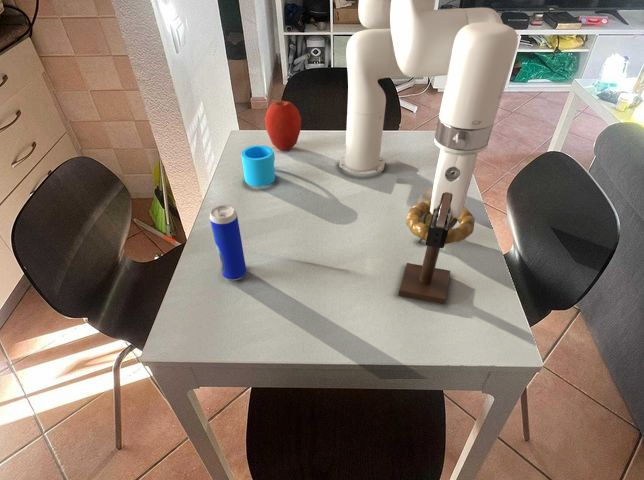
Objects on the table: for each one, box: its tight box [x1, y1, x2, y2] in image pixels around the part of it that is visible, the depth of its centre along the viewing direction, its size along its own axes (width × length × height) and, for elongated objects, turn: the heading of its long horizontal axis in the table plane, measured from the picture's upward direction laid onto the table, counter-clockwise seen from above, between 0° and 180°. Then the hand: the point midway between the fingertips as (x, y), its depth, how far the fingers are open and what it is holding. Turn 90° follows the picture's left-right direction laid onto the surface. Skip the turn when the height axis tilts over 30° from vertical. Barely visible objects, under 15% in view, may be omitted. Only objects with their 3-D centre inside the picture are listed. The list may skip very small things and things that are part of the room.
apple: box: [264, 97, 302, 152], centre depth 123 cm, size 10×10×14 cm
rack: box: [397, 246, 451, 306], centre depth 82 cm, size 9×9×14 cm
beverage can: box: [209, 204, 247, 282], centre depth 85 cm, size 5×5×15 cm
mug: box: [240, 144, 276, 187], centre depth 113 cm, size 12×8×8 cm
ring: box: [405, 201, 476, 245], centre depth 77 cm, size 12×12×2 cm
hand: (435, 239), depth 75 cm, fingers closed on ring, 2 cm apart
